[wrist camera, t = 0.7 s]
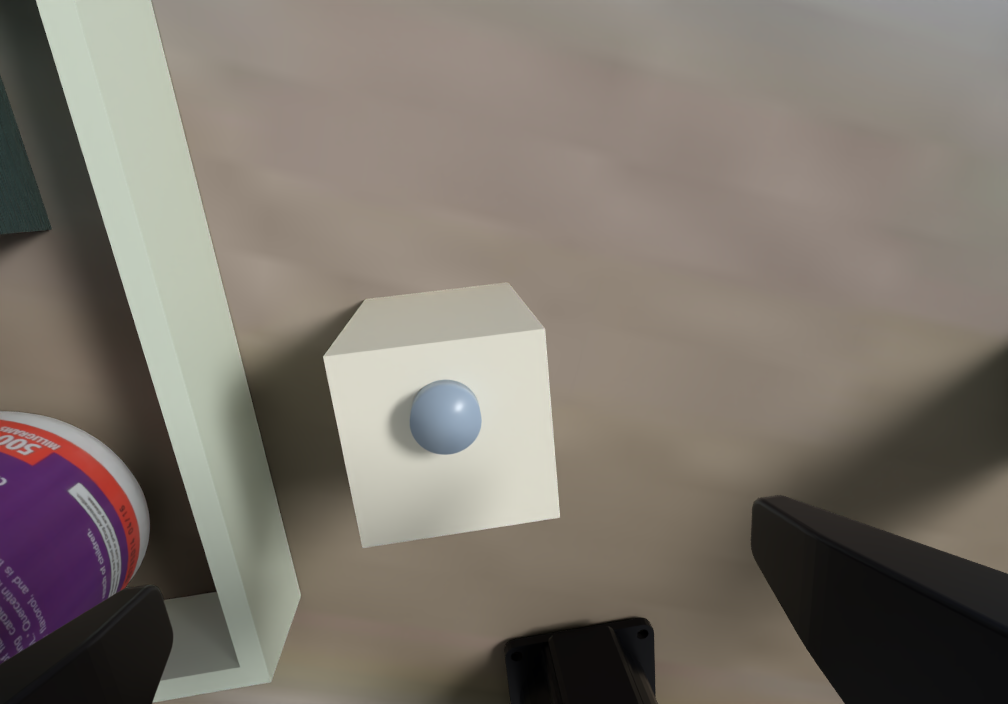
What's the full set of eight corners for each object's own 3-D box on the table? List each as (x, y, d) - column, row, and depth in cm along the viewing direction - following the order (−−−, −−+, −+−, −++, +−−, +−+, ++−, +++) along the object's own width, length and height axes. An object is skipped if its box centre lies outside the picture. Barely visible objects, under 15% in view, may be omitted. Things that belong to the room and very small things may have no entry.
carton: (520, 412, 20) (565, 531, 13) (388, 430, 20) (359, 563, 13) (508, 282, 19) (550, 335, 12) (365, 299, 19) (317, 364, 11)
